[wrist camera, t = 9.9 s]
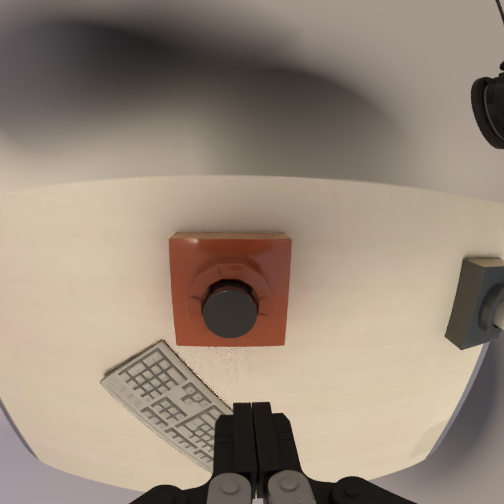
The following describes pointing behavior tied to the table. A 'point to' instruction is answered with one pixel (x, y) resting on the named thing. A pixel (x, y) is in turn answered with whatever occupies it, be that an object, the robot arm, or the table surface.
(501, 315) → the grey cylindrical knob
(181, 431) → the keyboard
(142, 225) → the table surface
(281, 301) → the button base
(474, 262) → the push button box
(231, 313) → the black button cap
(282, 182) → the table surface
